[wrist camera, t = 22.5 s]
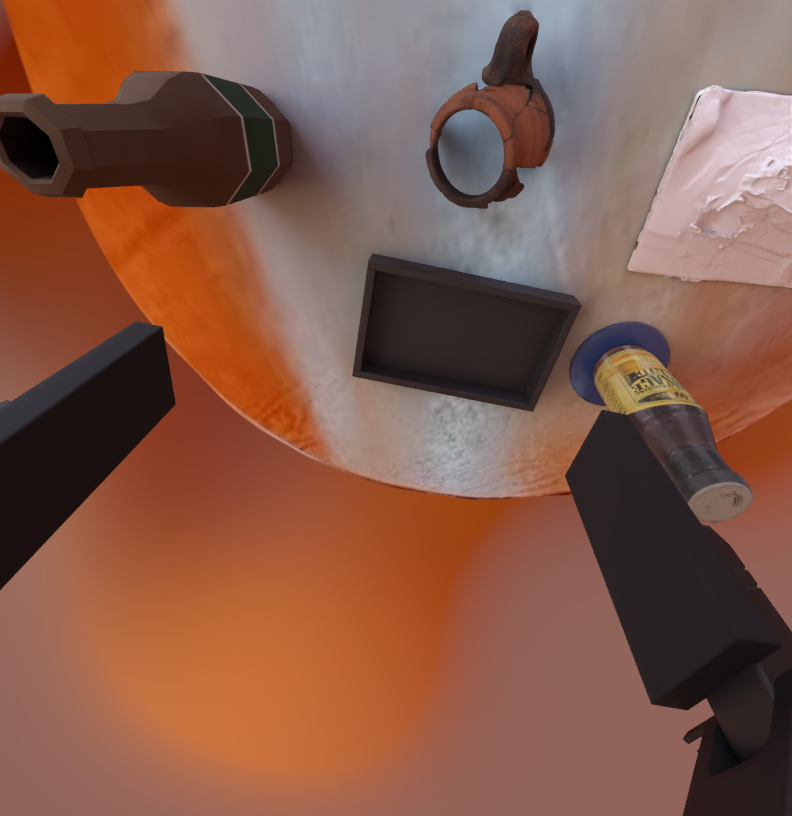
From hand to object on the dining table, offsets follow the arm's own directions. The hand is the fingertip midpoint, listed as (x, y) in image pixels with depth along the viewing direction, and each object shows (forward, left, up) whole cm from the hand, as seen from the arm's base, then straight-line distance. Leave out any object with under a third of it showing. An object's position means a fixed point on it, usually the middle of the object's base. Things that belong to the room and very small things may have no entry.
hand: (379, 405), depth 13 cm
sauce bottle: (+10, +25, -31) cm, 41 cm away
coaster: (+10, +25, -31) cm, 41 cm away
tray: (+10, +7, -31) cm, 33 cm away
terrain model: (-8, +31, -31) cm, 44 cm away
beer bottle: (-4, -15, -31) cm, 35 cm away
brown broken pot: (-9, +5, -31) cm, 33 cm away
